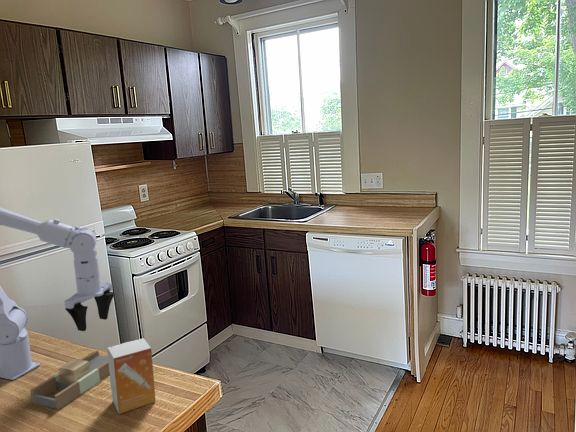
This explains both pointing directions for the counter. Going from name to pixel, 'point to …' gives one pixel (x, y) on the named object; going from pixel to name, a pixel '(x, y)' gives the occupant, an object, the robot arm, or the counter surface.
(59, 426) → the counter surface
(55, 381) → the board
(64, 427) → the counter surface
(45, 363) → the counter surface
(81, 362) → the maple block
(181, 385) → the counter surface
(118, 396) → the small box
